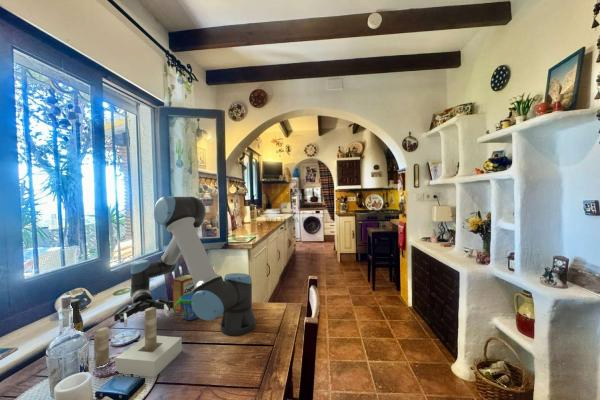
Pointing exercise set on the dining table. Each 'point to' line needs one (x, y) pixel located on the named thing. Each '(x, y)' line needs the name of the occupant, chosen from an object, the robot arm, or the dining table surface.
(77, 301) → the sauce bottle
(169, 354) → the hole block
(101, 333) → the medium dowel
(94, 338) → the short dowel
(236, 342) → the dining table surface
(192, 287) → the baking soda box
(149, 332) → the tall dowel
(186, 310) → the snack cup
